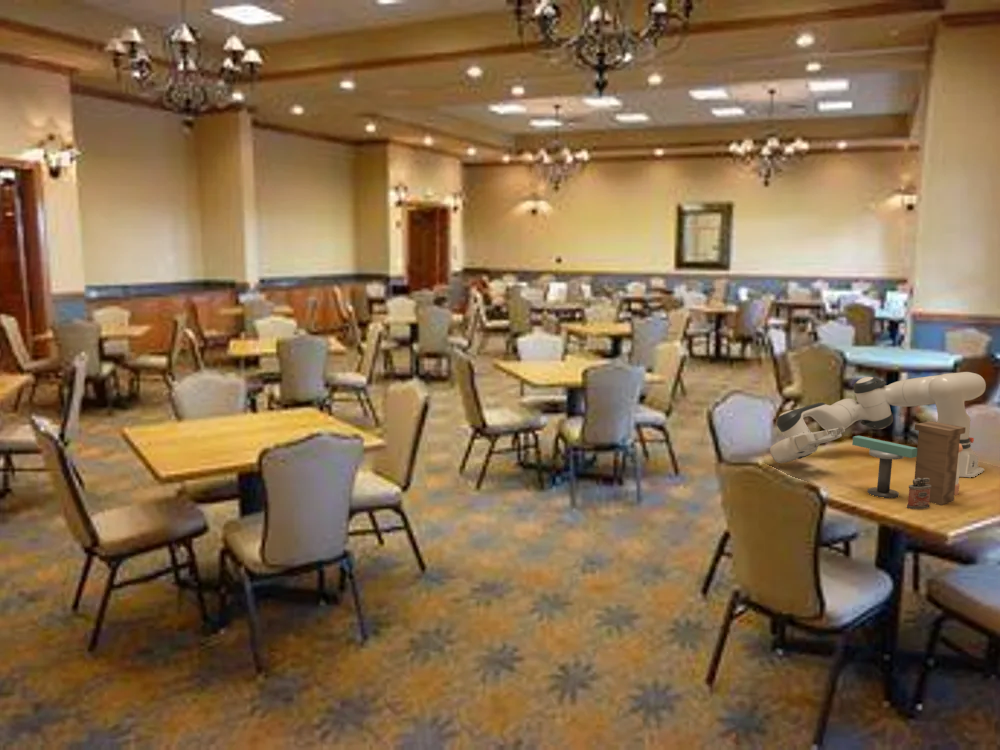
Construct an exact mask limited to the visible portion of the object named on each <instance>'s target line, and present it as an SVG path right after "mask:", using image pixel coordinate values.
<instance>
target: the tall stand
mask: <svg viewBox="0 0 1000 750" xmlns="http://www.w3.org/2000/svg"><path fill="white" fill-rule="evenodd" d="M965 428H966V427H960V426H955V425H949V424H944V423H938V421H933V420H931V421H930V420H929V421H924V422H920V423H914V431H918V437H917V447H916V448H918V449H917V457H915V458H916V459H915V469H914V479H917V478H921V479H922V478H929V479H930V481H929V482H926V484H928V485H931V489H930V499H929V503H931V502H932V503H931V504H935V503H936V504H935V505H939V506H943V504H944V505H946V504H949V503H953V502H955V501H954V500H955V495H954V493H955V483H956V473H957V463H958V453H959V443H960V434H964V433H965Z"/></svg>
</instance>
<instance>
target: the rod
mask: <svg viewBox="0 0 1000 750" xmlns="http://www.w3.org/2000/svg"><path fill="white" fill-rule="evenodd" d="M851 443H852V446H856V447H860V448H865V449H873V450H878V451H882V452H886V453H891V454H895V455H900V456H904V457H905V458H909V459H913V458H916V457H917V449H918V448H917V447H914V446H910V445H905V444H899V443H897V442H896V443H895V442H891V441H887V440H886V441H885V440H881V439H877V438H876V439H875V438H872V437H867V436H862V435H855V436H852V442H851Z"/></svg>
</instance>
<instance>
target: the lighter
mask: <svg viewBox="0 0 1000 750" xmlns="http://www.w3.org/2000/svg"><path fill="white" fill-rule="evenodd" d="M929 481H930V479H929V478H922V479H921V478H917V479H912V484H909V485H908V497H907V498H908V499H907V505H906V508H907V509H909V508H910V509H909V510H923V509H924V508H925V509H929V508H930V507H931V506H930V502H929V499H930V489H931V485H928V484H926V482H929Z"/></svg>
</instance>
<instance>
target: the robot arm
mask: <svg viewBox="0 0 1000 750" xmlns="http://www.w3.org/2000/svg"><path fill="white" fill-rule="evenodd" d="M986 385H987V383H986V380H985V379H984V378H983V376H981V375H980V374H978V373H974V372H970V371H960V372H950V373H942V374H939V375H928V376H921V377H914V378H913V377H912V378H907V379H902V380H897V381H894V382H892V383H889V384H888V385H887V382H886V381H885V380H881V379H880V378H879V377H875V376H865V377H861V378H860V379H858V380H856V381H855V383H854V384H853V392H854V394H855V398H856V400H855V399H854V398H851V397H850V398H849V397H848V398H843V399H840V400H839V401H838V400H837V401H836V402H834V403H832V404H831V405H830V404H827V403H825V402H816V403H813V404H809V405H807V406H803V407H800V408H796V409H790V410H786V411H784V412H782V413H781V414H780V415H778V416H777V419H776V427H777V428H778V430H779V431H780V432H781V434H782V435H783V437H784V438H783V439H781V440H778V441H777V442H776V443H774V444H773V445H771V446H770V447H769V448H770V449H769V451H770V452H769V453H770V455H771V457H772V458H773V460H774V461H775V462H776V463H777V464H784V463H789V462H793V461H795V460H797V459H798V460H801V459H802V458H803V459H804V458H805V457H806V458H807V457H808V456H810V455H812V454H813V453H816V452H817V450H818V448H819V445H820V444H825V443H829V442H831V441H834V440H837V439H839V438H841V437H843V435H842V433H845V431H846V429H847V428H849V427H851V425H853V424H854V423H855V422H857V421H860V424H861V425H862V426H866V427H867V428H868V429H871V430H883V429H886V428H887V427H889V426H891V425H892V423H893V422H894V416H893V413H892V411H891V406H893V407H895V406H896V407H905V408H906V407H916V406H917V407H918V406H928V405H929V406H930V405H935V408H936V412H937V422H938V423H944V424H949V425H955V426H960V427H966V428H965V433H964V434H960V443H959V444H961V445H962V447H963V450H962V451H961V452H960V455H959V478H960V477H961V478H964V477H965V478H971V477H974V478H976V477H977V476H979V475H980V473H981V474H982V473H984V472H985V468H983V467H981V466H979V456H978V454H976V453H975V451H974V450H973V449H972V448H971V447H972V446H971V445H972V443H974V442H975V441H974V440H975V438H974V437H970V427H971V420H972V419H971V417H970V415H969V414H968V413H967V411H966V406H965V405H966V404H965V402H966V401H967V402H968V401H972V400H975V399H977V398H978V397H979V398H980V396H982V395H983V394H984V393H985V392H986V387H987V386H986ZM807 417H810V418H812V419H813V420H814V421H816V422H817V424H818V425H819V427H821V428H822V429H824V430H821V431H820V430H819V431H814V432H812V431H811V430H810V428H809V427H808V425H807V424H806V422H805V419H804V418H807ZM983 471H984V472H983ZM978 474H979V475H978ZM975 476H976V477H975Z"/></svg>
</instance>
